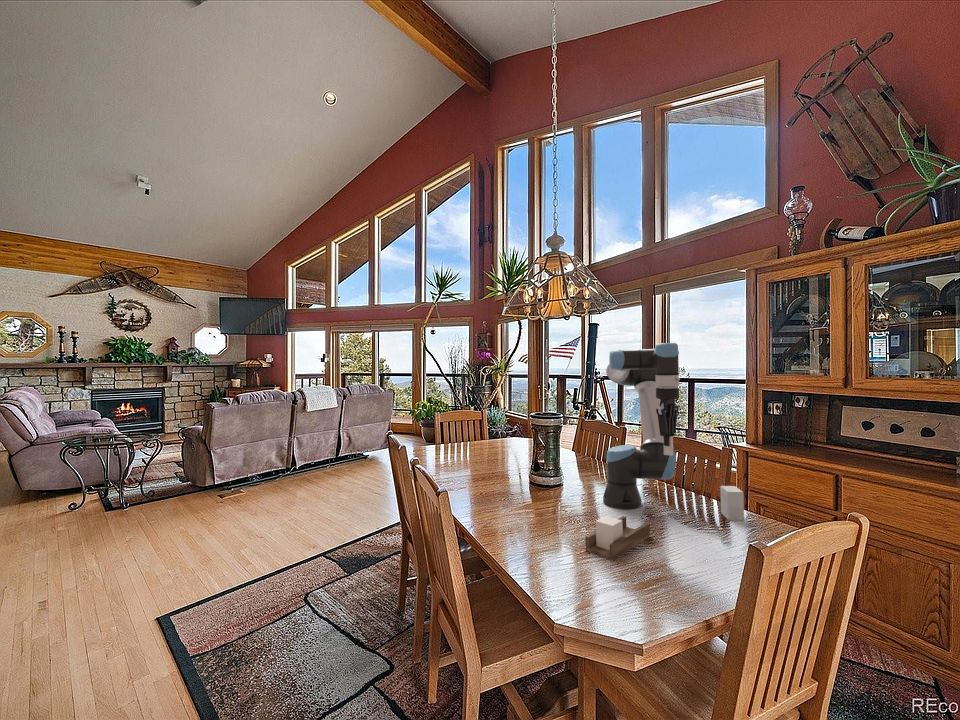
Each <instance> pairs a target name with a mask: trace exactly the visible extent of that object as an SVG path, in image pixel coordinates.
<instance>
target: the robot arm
mask: <svg viewBox="0 0 960 720" xmlns="http://www.w3.org/2000/svg"><path fill="white" fill-rule="evenodd" d="M679 354H680V351H679V345H678V344H677V343H676V342H661V343H656V344H655V346H654V348H647V349H646V348H641V349H612V350H610V351H609V354H608V355H609V357H608V358H609V360H608V361H609V362H608V363H609V364H608V365H607V367H606V371H605V372H606V376H607V378H608V379H609V380H610V381H611V382H613V383H614V384H617V385H620V386H626V387H627V386H628V387H630V386H633V388H634V390H635V392H636V393H638V401H639V411H640V412H639V413H640V421H641V423H640V424H641V429H642V442H643V443H641V445H639V449H637V447H636V446H635V445H632V444H630V445H629V444H622V445H616V446H612V447H610V448H609V449H608V450H607V451H606V478H607V479H606V480H607V481H606V482H607V483H606V487H605V489H604V492H603V495H602V501H603V502H602V503H604V504H605V506H607V507H611V508H614V509H620V510H633V509H637V508H640V507H641V506H643V504H642V502H643V501H642V497H641V494H640V492H639V488H638V484H637V483H638V482H637V481H638V479H639V480H643V479H644V480H660V481H661V480H671V479H672V478H674V475H675V473H676V467H677V466H676V464H677V454H676V451H675V450H674V437H676V436H677V434H676V433H677V424H678V423H677V422H678V415H679V414H678V412H679V408H680V407H679V405H676V400H678V399H680V388H679V386H680V383H679V382H680V380H681V378H680V377H679V375H680V372H679V368H680V367H679V356H680V355H679Z"/></svg>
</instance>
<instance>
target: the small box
mask: <svg viewBox="0 0 960 720" xmlns="http://www.w3.org/2000/svg"><path fill="white" fill-rule="evenodd" d="M719 487H720V491H719V492H720V513H721V514H722V515H723V516H724V517H725V518H726V519H727V521H745V502H744V501H745V498H744V497H745V495H744V492H743V490H741V489H740V488H739V487H737V486H736V485H735V486H734V485H720V486H719Z"/></svg>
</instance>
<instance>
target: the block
mask: <svg viewBox="0 0 960 720" xmlns="http://www.w3.org/2000/svg"><path fill="white" fill-rule="evenodd" d="M595 531H596V546H598V547H601V548H604V549H607V550H610V544H611V543H613V542H614V541H616V540H618V539H619V538H621V537H623V522H622V520H619V518H615V517H612V516H607V515H605V516H602V517H600V518H599V519H596V520H595Z"/></svg>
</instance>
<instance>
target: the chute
mask: <svg viewBox="0 0 960 720" xmlns="http://www.w3.org/2000/svg"><path fill="white" fill-rule="evenodd" d="M618 519H619V520H622V522H623V537H621V538H619V539H618V540H616V541H614V542H613V543H611V544H610V550H607V549H604V548H601V547H598V546H596V530H595V531H593V532H591V533H589V534H588V535H586V536H585V538H584V540H585V542H584V543H585V552H589V553H591V554H595V555H598V556H601V557H603V558H606V559H609V560H612V561H615V560H616V559H618V558H619V557H621V556H623V555H624V554H626V553H627V552H628V551H630V550H632V549H633V548H634V547H637V546H638V545H639V544H641V543H643V542H644V541H645V540H646V539H648V538H650V537H651V523H649V522H645V523H643V524H641V525H640V526H638V527H636V528H632V527H629V526H628V525H627V516H624V515H623V516H620V517H619V518H618Z"/></svg>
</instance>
